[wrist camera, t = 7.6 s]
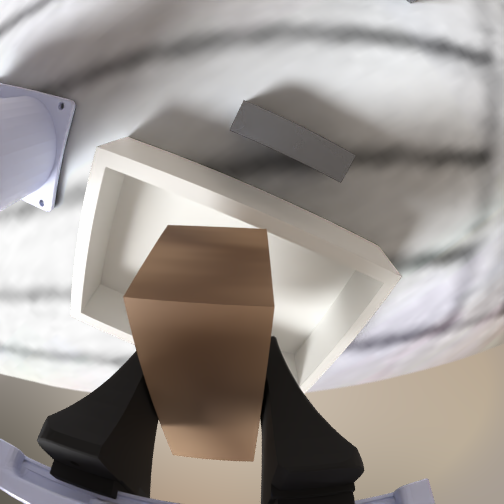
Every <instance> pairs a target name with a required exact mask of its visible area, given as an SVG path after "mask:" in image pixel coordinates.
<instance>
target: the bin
mask: <svg viewBox="0 0 504 504" xmlns="http://www.w3.org/2000/svg"><path fill="white" fill-rule="evenodd" d="M167 225H185V226H212V227H236V228H258V229H267V235H268V245H269V255H270V265H271V275H272V285H273V295H274V306H275V308H274V316H273V325H272V333H271V336H275V337H276V338H277V342H278V345H279V348H280V350H281V353H282V355H283V357H284V360H285V362H286V364H287V366H288V368H289V370H290V371H291V373H292V375H293V377H294V379H295V380H296V382H297V384H298V385H299V387H300V389H301V390H302V392H303V393H304V394H305V393H306V392H307V391H308V390H309V389H310V388H311V387H312V385H313V384H314V383H315V382H316V381H317V380H318V379H319V378H320V377H321V376H322V375H323V374H324V373H325V372H326V370H327V369H328V368H329V367H330V366H331V365H332V364H333V363H334V362H335V360H336V359H337V358H338V357H339V356H340V355H341V354H342V352H343V351H344V350H345V349H346V348H347V347H348V345H349V344H350V343H351V342H352V341H353V339H354V338H355V337H356V336H357V335H358V333H359V332H360V331H361V330H362V329H363V327H364V326H365V325H366V324H367V322H368V321H369V320H370V318H371V317H372V316H373V315H374V313H375V312H376V311H377V309H378V308H379V307H380V306H381V304H382V303H383V302H384V300H385V299H386V298H387V296H388V295H389V294H390V292H391V291H392V289H393V288H394V287H395V285H396V284H397V282H398V281H399V280H400V278H401V277H402V276H401V275H400V274H399V272H398V271H397V270H396V268H395V267H394V266H393V264H392V263H391V262H390V260H389V259H388V258H387V256H386V255H385V254H384V252H383V251H382V250H381V248H380V247H379V246H378V245H376V244H374V243H372V242H370V241H368V240H366V239H364V238H362V237H360V236H358V235H356V234H354V233H352V232H350V231H348V230H346V229H344V228H342V227H340V226H338V225H336V224H334V223H332V222H330V221H328V220H326V219H324V218H322V217H320V216H318V215H315V214H313V213H311V212H309V211H307V210H305V209H303V208H300V207H298V206H296V205H294V204H292V203H290V202H287V201H285V200H283V199H281V198H279V197H276V196H274V195H272V194H270V193H267V192H265V191H263V190H261V189H258V188H256V187H254V186H251V185H249V184H247V183H244V182H242V181H240V180H237V179H235V178H233V177H230V176H228V175H226V174H223V173H221V172H218V171H216V170H213V169H211V168H208V167H206V166H204V165H201V164H199V163H196V162H193V161H191V160H188V159H186V158H183V157H181V156H178V155H176V154H173V153H170V152H168V151H165V150H162V149H160V148H157V147H154V146H152V145H149V144H146V143H143V142H141V141H138V140H135V139H132V138H130V137H125V138H122V139H118V140H115V141H112V142H109V143H106V144H103V145H100V146H97V147H96V151H95V154H94V158H93V162H92V166H91V170H90V174H89V179H88V183H87V188H86V193H85V197H84V202H83V208H82V213H81V219H80V225H79V231H78V238H77V245H76V253H75V261H74V271H73V282H72V295H71V314H70V316H71V317H73V318H76V319H78V320H80V321H82V322H84V323H86V324H88V325H90V326H92V327H95V328H97V329H99V330H101V331H103V332H106V333H108V334H110V335H112V336H115V337H117V338H119V339H122V340H124V341H127V342H129V343H131V344H134V340H133V336H132V332H131V328H130V324H129V320H128V316H127V312H126V308H125V303H124V299H123V296H124V295H125V293H126V291H127V289H128V288H129V286H130V284H131V283H132V281H133V279H134V278H135V276H136V274H137V273H138V271H139V269H140V268H141V266H142V264H143V263H144V261H145V260H146V258H147V256H148V255H149V253H150V252H151V250H152V248H153V247H154V245H155V244H156V242H157V241H158V239H159V237H160V236H161V234H162V233H163V231H164V230H165V228H166V227H167ZM134 345H135V344H134Z"/></svg>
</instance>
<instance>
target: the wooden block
mask: <svg viewBox="0 0 504 504" xmlns="http://www.w3.org/2000/svg"><path fill="white" fill-rule="evenodd" d="M123 299H124V303H125V308H126V312H127V316H128V320H129V324H130V328H131V332H132V336H133V340H134V344H135V347H136V351H137V354H138V358H139V361H140V365H141V368H142V371H143V375H144V378H145V381H146V384H147V387H148V390H149V393H150V396H151V399H152V402H153V405H154V408H155V410H156V413H157V416H158V419H159V421H160V424H161V427H162V429H163V431H164V434H165V437H166V439H167V442H168V444H169V447H170V449H171V452H172V454H173V455H177V456H184V457H185V456H186V457H194V458H202V459H213V460H228V461H229V460H230V461H254V454H255V448H256V442H257V435H258V429H259V421H260V415H261V408H262V401H263V394H264V387H265V379H266V372H267V364H268V357H269V349H270V341H271V333H272V325H273V316H274V308H275V306H274V295H273V285H272V275H271V265H270V255H269V245H268V235H267V229H258V228H236V227H212V226H185V225H167V227H166V228H165V230H164V231H163V233H162V234H161V236H160V237H159V239H158V241H157V242H156V244H155V245H154V247H153V248H152V250H151V252H150V253H149V255H148V256H147V258H146V260H145V261H144V263H143V264H142V266H141V268H140V269H139V271H138V273H137V274H136V276H135V278H134V279H133V281H132V283H131V284H130V286H129V288H128V289H127V291H126V293H125V295H124V296H123Z"/></svg>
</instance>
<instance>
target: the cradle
mask: <svg viewBox="0 0 504 504" xmlns="http://www.w3.org/2000/svg"><path fill="white" fill-rule="evenodd" d="M407 1H408V2H410V3H412V2H414V1H416V0H407ZM230 131H232V132H235V133H237V134H240V135H242V136H244V137H247V138H249V139H251V140H254V141H256V142H258V143H260V144H263V145H265V146H267V147H269V148H272V149H274V150H276V151H278V152H280V153H282V154H284V155H287V156H289V157H291V158H293V159H295V160H297V161H299V162H301V163H303V164H305V165H307V166H309V167H311V168H313V169H315V170H317V171H319V172H321V173H323V174H325V175H327V176H329V177H331V178H333V179H335V180H337V181H338V182H340V183H341V182H342V180H343V178H344V176H345V174H346V173H347V171H348V169H349V167H350V165H351V163H352V161H353V160H354V158H355V156H356V155H354V154H352V153H351V152H349V151H347V150H345V149H343V148H342V147H340V146H338V145H336V144H334V143H333V142H331V141H329V140H327V139H325V138H323V137H321V136H319V135H318V134H316V133H314V132H312V131H310V130H308V129H306V128H304V127H302V126H300V125H298V124H296V123H294V122H292V121H289V120H287V119H285V118H283V117H281V116H279V115H277V114H274V113H272V112H270V111H268V110H266V109H263V108H261V107H259V106H256V105H254V104H252V103H249V102H247V101H245V100H244V101H243V103H242V105H241V107H240V109H239V111H238V114H237V116H236V118H235V120H234V122H233V124H232V127H231V129H230Z"/></svg>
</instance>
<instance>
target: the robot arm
mask: <svg viewBox="0 0 504 504" xmlns="http://www.w3.org/2000/svg"><path fill="white" fill-rule="evenodd" d="M62 103H64V108H63V109H62V108H61V105H62ZM74 111H75V103H74V101H72V100H70V99H66V98H63V97H59V96H55V95H51V94H47V93H43V92H39V91H35V90H31V89H26V88H22V87H18V86H13V85H8V84H3V83H0V212H1V211H2V210H4V209H5V208H7V207H9V206H10V205H12V204H14V203H15V202H17V201H19V200H23V201H25V202H27V203H30V204H32V205H34V206H36V207H38V208H40V209H42V210H44V211H47V212H49V211H51V210H53V208H54V205H55V198H56V192H57V186H58V180H59V174H60V169H61V164H62V159H63V154H64V150H65V145H66V141H67V137H68V133H69V129H70V125H71V122H72V118H73V115H74ZM42 200H43V201H44V204H43V202H42ZM260 419H261V429H262V480H261V481H262V482H261V504H435V501H434V497H433V494H432V490H431V487H430V483H429V480H428V479H427V478H426V479H423V480H420V481H416V482H413V483H410V484H406V485H403V486H401V487H399V488H398V489H396V490H395V491H394V492H392V493H388V494H384V495H380V496H376V497H371V498H366V499H361V500H356V501H354V495H353V492H354V491H355V486H354V482H355V481H356V480H357V479H358V478H359V477H360V476H361V475H362V473H363V472H364V466H363V462H362V459H361V457H360V454H359V452H358V450H357V448H356V447H355V446H353V445H352V444H351V443H350V442H348V441H347V440H346V439H345V438H343V437H342V436H341V435H340V434H339V433H338V432H336V430H335V429H333V428H332V427H331V425H330V424H329V423H328V422H327V421H326V420H325V419H324V418H323V417H322V416H321V415H320V414H319V413H318V412H317V410H316V409H315V408H314V407H313V405H312V404H311V403H310V402H309V400H308V399H307V397H306V396H305V395H304V393H303V392H302V390H301V389H300V387H299V385H298V384H297V382H296V380H295V379H294V377H293V375H292V373H291V371H290V370H289V368H288V366H287V364H286V362H285V360H284V357H283V355H282V353H281V350H280V348H279V345H278V342H277V338H276V337H275V336H271V341H270V349H269V357H268V364H267V372H266V379H265V387H264V394H263V401H262V408H261V415H260ZM158 420H159V419H158V416H157V413H156V410H155V408H154V405H153V402H152V399H151V396H150V393H149V390H148V387H147V384H146V381H145V378H144V375H143V371H142V368H141V365H140V361H139V358H138V354H137V351H136V352H135V353H134V354H133V355H132V356H131V357H130V358H129V360H128V361H127V362H126V363H125V364H124V365H123V366H122V367H121V368H120V369H119V370H118V371H117V372H116V373H115V374H114V375H113V376H111V377H110V378H109V379H108V380H107V381H106V382H105V383H103V384H102V385H101V386H100V387H98V388H97V389H96V390H94V391H93V392H92V393H90V394H89V395H87V396H86V397H84V398H83V399H81V400H80V401H78V402H76V403H75V404H73V405H71V406H69V407H68V408H66V409H63V410H61V411H59V412H57V413H55V414H52V415H50V416H48V417H47V419H46V420H45V422H44V424H43V427H42V429H41V432H40V434H39V436H38V439H37V441H38V443H39V445H40V446H41V447H42V449H44V451H46V452H47V453H48V454H49V455H50V456H51V457H52V458H53V459H54V462H53V465H52V467H48V466H46V465H44V464H42V463H39V462H37V461H35V460H33V459H31V458H28V457H27V456H25V455H24V454H23V453H22V452H21V451H20V450H19V449H18V448H16V447H15V446H13V445H11V444H9V443H7V442H6V441H4V440H2V439H0V489H1V490H3V491H4V492H6V493H7V494H9V495H10V496H12V497H14V498H15V499H17V500H19V501H21V502H22V503H24V504H179V503H172V502H167V501H161V500H156V499H151V498H150V483H151V469H152V458H153V450H154V443H155V436H156V430H157V424H158Z"/></svg>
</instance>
